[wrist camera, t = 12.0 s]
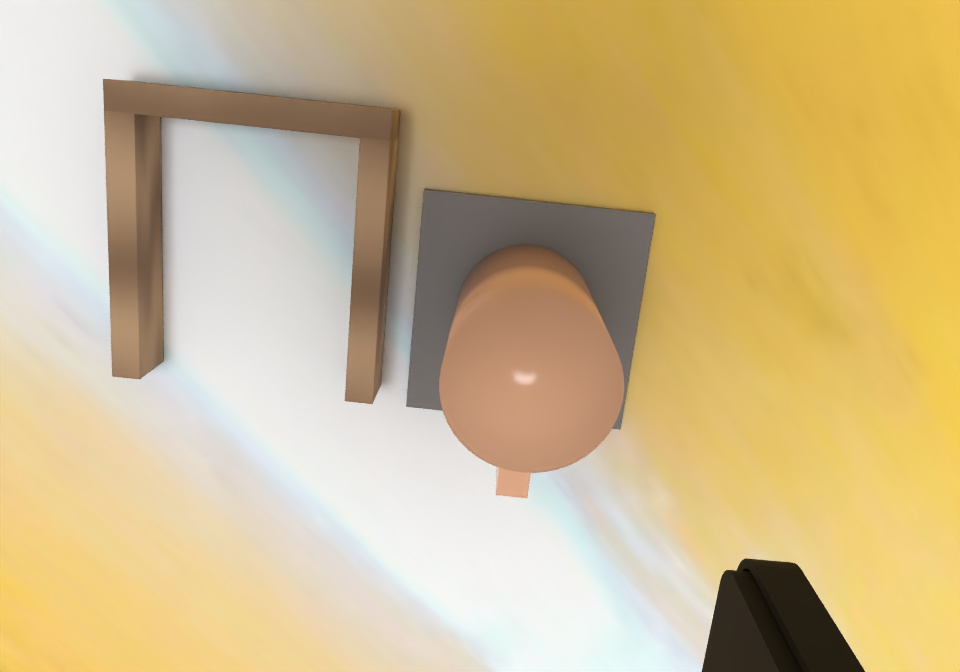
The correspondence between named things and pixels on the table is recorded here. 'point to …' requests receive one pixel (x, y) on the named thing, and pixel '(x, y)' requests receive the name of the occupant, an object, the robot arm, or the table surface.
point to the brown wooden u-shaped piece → (140, 211)
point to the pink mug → (529, 366)
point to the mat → (507, 222)
